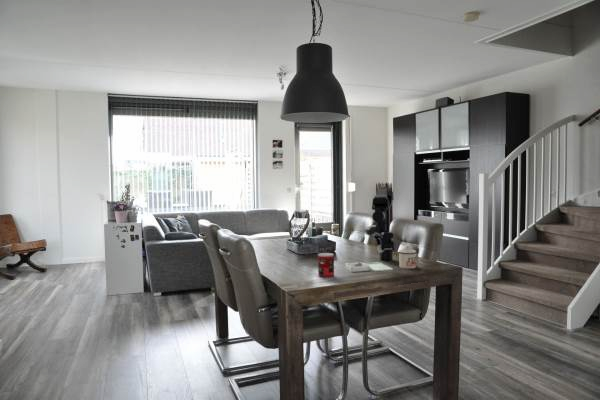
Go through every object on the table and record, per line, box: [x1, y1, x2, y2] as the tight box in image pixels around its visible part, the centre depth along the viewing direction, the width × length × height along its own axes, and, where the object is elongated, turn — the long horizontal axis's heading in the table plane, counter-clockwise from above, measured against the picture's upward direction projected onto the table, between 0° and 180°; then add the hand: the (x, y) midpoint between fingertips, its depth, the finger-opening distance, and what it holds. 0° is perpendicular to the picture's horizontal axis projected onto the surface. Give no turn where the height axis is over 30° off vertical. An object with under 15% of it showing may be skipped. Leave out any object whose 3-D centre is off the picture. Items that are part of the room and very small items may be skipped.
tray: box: [364, 261, 394, 272], centre depth 232 cm, size 10×18×1 cm, turn 14°
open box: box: [344, 261, 371, 273], centre depth 228 cm, size 10×10×3 cm
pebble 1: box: [354, 261, 362, 267], centre depth 226 cm, size 4×4×4 cm
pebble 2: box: [376, 245, 385, 253], centre depth 226 cm, size 4×4×4 cm
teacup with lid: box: [398, 245, 419, 269], centre depth 231 cm, size 12×9×12 cm
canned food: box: [317, 252, 335, 278], centre depth 217 cm, size 8×8×11 cm
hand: (380, 249), depth 226 cm, fingers closed on pebble 2, 4 cm apart
